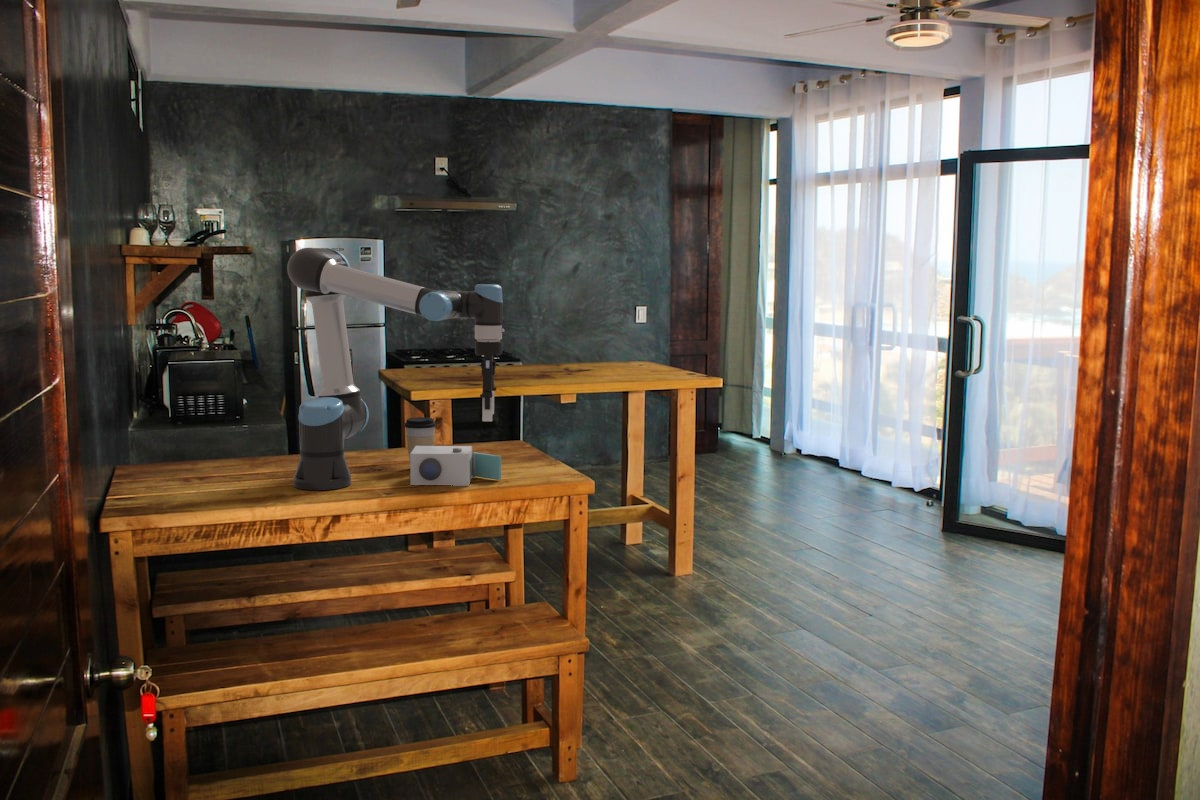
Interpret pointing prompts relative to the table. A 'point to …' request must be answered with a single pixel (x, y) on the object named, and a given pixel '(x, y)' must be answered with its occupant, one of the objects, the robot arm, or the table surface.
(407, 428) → the coffee cup
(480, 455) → the side door
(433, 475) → the cabinet body
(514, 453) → the table surface
